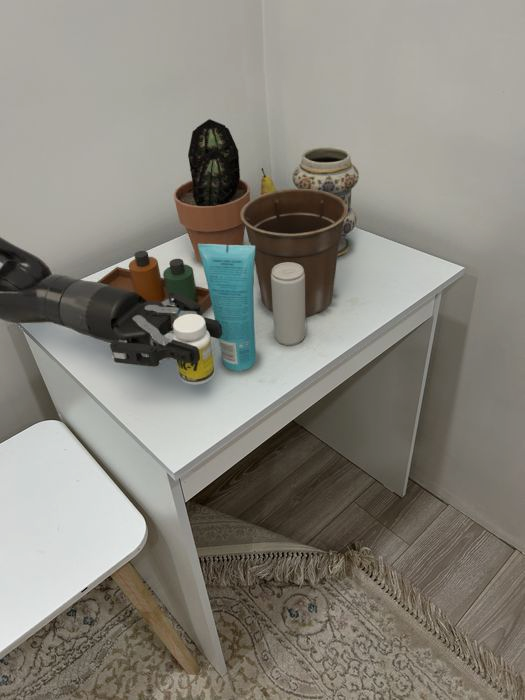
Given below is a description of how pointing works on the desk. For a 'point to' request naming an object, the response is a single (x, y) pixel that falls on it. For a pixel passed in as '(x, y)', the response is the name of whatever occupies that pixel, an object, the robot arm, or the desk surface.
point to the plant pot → (296, 240)
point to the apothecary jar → (330, 180)
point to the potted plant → (213, 189)
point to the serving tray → (124, 281)
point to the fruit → (267, 184)
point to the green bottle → (180, 279)
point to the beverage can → (288, 302)
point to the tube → (232, 300)
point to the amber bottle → (146, 277)
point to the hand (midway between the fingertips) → (208, 343)
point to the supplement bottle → (195, 334)
